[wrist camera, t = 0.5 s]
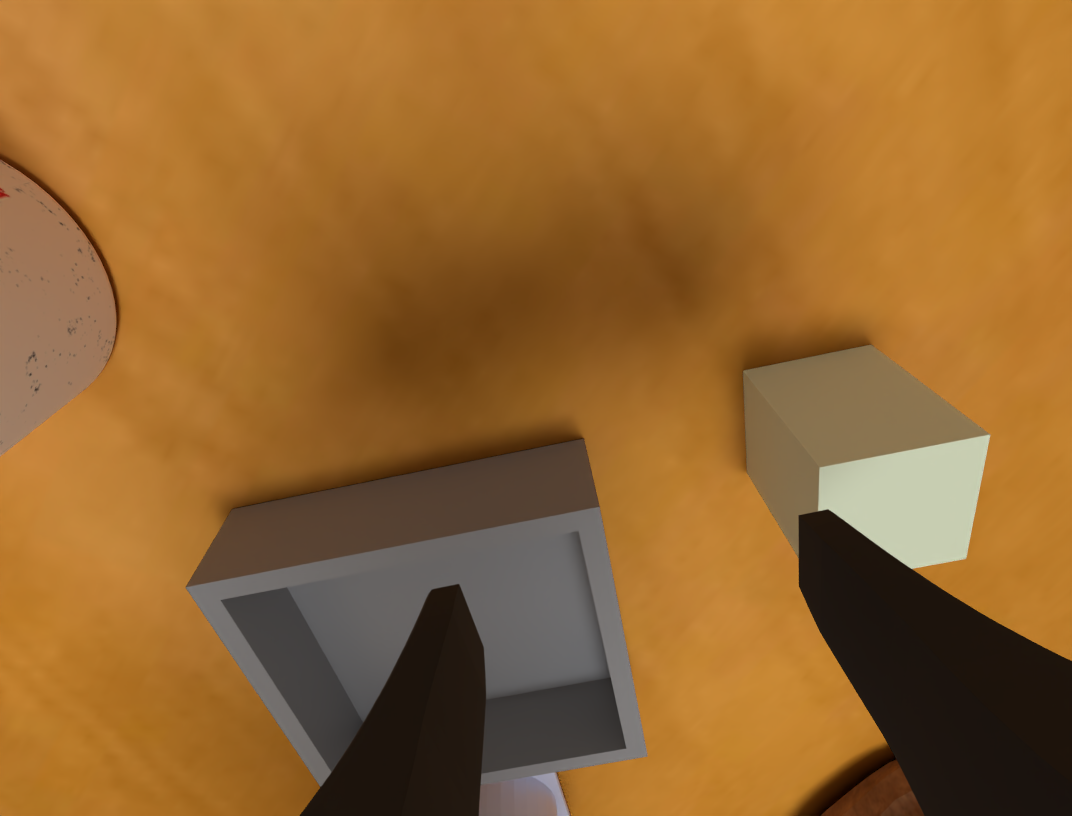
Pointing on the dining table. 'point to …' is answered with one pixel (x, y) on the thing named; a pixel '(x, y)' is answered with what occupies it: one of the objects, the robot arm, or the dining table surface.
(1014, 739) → the robot arm
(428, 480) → the bin
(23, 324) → the teacup with lid
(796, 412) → the block
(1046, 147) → the dining table surface
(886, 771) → the bread
